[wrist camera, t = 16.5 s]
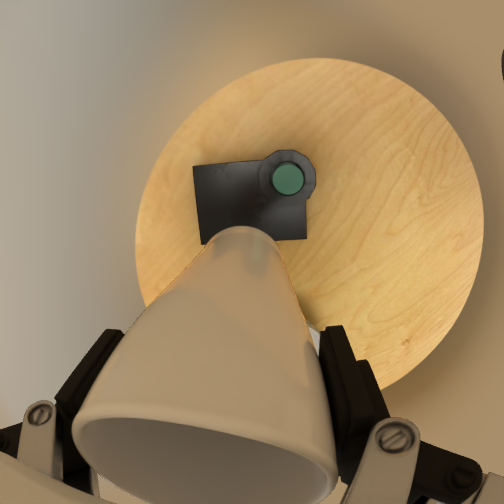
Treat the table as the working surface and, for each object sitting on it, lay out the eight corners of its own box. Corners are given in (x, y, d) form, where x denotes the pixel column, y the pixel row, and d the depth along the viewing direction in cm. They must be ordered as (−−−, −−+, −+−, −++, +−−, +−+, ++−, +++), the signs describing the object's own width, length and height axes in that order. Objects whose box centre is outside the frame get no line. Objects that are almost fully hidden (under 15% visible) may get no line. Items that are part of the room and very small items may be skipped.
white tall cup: (257, 323, 21) (243, 531, 6) (175, 274, 20) (60, 460, 5) (314, 249, 19) (402, 464, 4) (226, 191, 18) (88, 338, 3)
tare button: (271, 164, 28) (271, 165, 27) (300, 163, 28) (302, 163, 27) (273, 193, 29) (273, 195, 28) (302, 192, 29) (304, 193, 28)
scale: (194, 157, 31) (187, 158, 28) (310, 149, 30) (314, 149, 27) (203, 241, 34) (198, 249, 31) (313, 235, 33) (317, 242, 31)
